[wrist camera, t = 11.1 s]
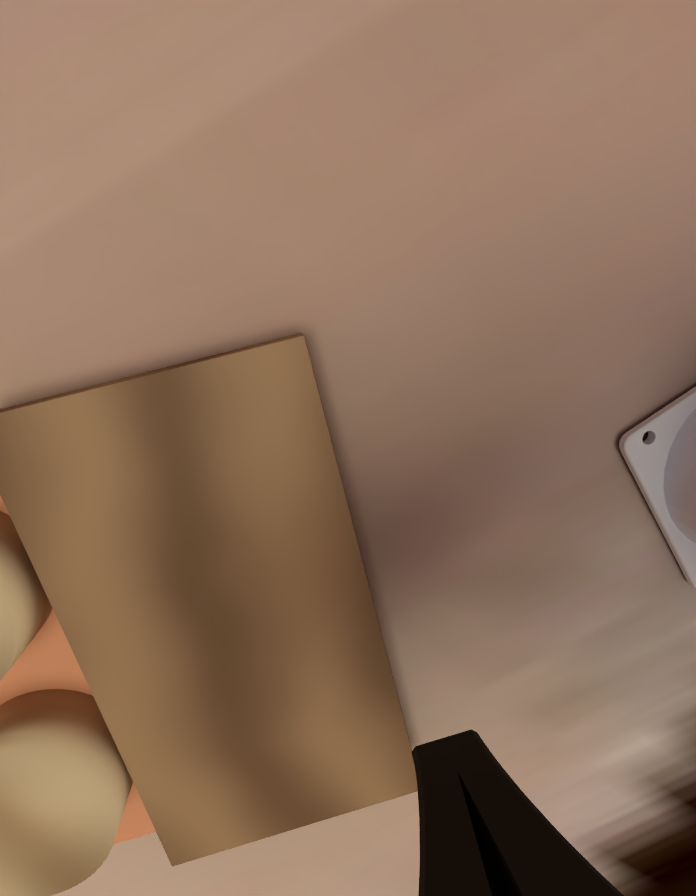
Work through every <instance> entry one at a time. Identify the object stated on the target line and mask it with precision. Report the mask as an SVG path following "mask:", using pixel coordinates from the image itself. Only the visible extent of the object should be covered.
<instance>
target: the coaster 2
mask: <svg viewBox="0 0 696 896" xmlns="http://www.w3.org/2000/svg"><path fill="white" fill-rule="evenodd" d="M132 784H133V781H132V779H131V776H130V774H129V772H128V770H127V768H126V766H125V763H124V761H123V759H122V757H121V755H120V753H119V750H118V748H117V746H116V744H115V742H114V740H113V737H112V735H111V733H110V731H109V729H108V727H107V725H106V722H105V720H104V718H103V716H102V714H101V712H100V709H99V707H98V705H97V703H96V701H95V699H94V696H92V695H89V694H86V693H83V692H78V691H73V690H65V689H45V690H38V691H33V692H29V693H25V694H22V695H19V696H17V697H14V698H12V699H10V700H8V701H6V702H5V703H3V704H2V705H0V896H50V895H53V894H57V893H60V892H62V891H65V890H68V889H70V888H72V887H74V886H76V885H78V884H79V883H81V882H82V881H84V880H85V879H87V878H88V877H89V876H91V875H92V874H93V873H94V872H95V871H96V870H97V869H98V868H99V867H100V866H101V865H102V863H103V862H104V861H105V859H106V858H107V856H108V854H109V852H110V850H111V848H112V845H113V842H114V839H115V836H116V833H117V830H118V827H119V824H120V821H121V818H122V814H123V811H124V808H125V805H126V802H127V799H128V796H129V793H130V790H131V787H132Z"/></svg>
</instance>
